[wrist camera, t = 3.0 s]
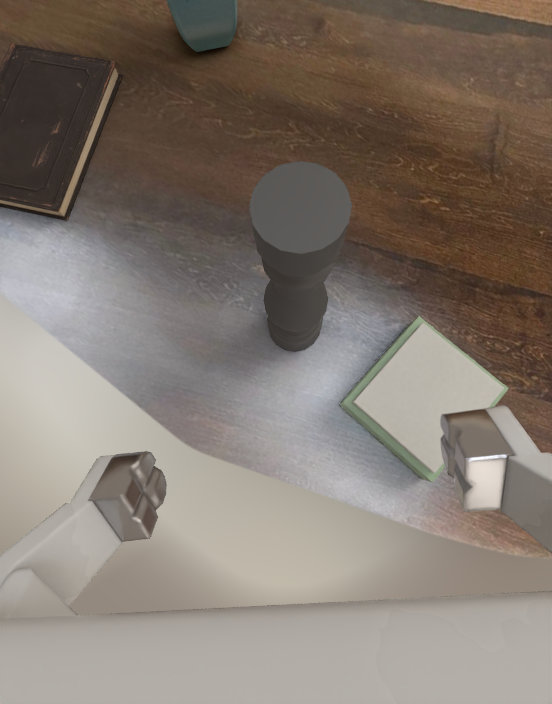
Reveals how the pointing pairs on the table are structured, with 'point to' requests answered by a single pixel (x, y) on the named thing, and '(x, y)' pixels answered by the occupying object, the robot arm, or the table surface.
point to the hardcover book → (50, 125)
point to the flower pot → (205, 22)
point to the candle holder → (298, 246)
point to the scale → (419, 395)
